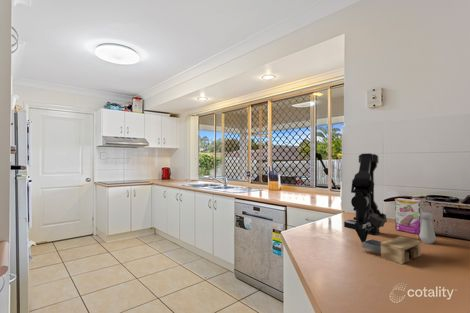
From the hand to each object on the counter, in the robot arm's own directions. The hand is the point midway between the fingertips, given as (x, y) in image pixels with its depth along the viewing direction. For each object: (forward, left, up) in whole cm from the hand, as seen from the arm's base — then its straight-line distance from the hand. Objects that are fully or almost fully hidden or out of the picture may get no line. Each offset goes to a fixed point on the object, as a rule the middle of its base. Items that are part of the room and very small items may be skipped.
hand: (363, 242), depth 104 cm
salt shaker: (+13, +28, -2) cm, 31 cm away
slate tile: (+8, +1, -2) cm, 8 cm away
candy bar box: (+1, +40, -2) cm, 40 cm away
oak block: (+14, 0, -1) cm, 14 cm away
